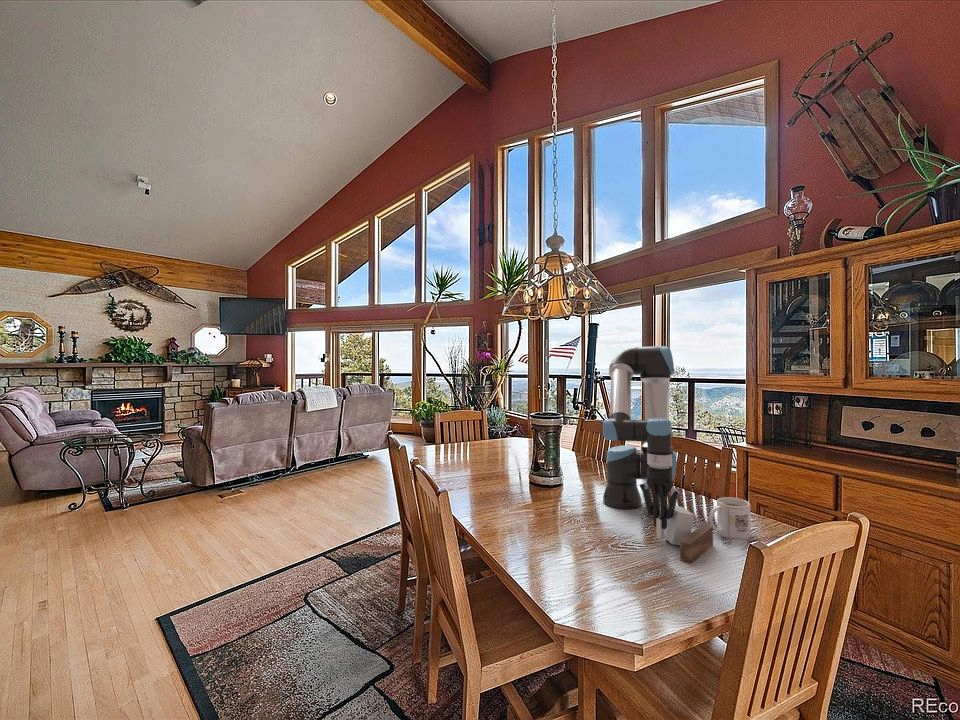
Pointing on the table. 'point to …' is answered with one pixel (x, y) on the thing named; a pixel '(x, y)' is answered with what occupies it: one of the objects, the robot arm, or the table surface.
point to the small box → (679, 525)
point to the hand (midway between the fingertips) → (660, 537)
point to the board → (696, 543)
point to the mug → (732, 518)
